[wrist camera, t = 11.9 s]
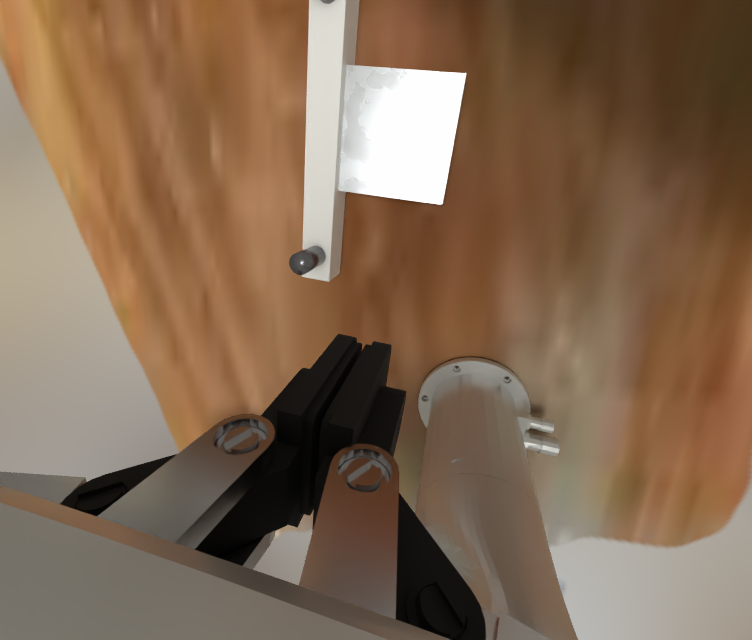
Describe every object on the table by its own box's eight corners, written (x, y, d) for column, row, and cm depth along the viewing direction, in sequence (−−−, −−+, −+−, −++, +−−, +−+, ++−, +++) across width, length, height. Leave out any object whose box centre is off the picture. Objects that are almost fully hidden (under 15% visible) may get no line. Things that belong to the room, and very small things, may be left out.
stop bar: (361, -30, 28) (330, -96, 22) (339, 273, 39) (313, 293, 32) (327, -31, 29) (286, -96, 22) (314, 268, 39) (284, 287, 33)
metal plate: (465, 83, 30) (465, 73, 27) (443, 202, 34) (442, 204, 31) (356, 74, 32) (346, 64, 29) (347, 189, 36) (337, 190, 33)
